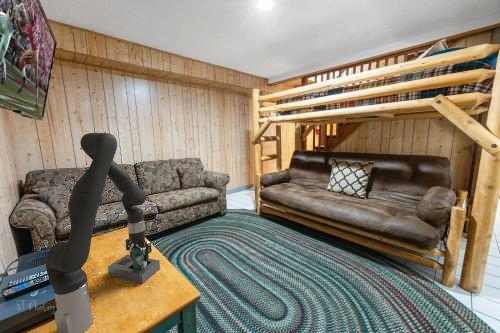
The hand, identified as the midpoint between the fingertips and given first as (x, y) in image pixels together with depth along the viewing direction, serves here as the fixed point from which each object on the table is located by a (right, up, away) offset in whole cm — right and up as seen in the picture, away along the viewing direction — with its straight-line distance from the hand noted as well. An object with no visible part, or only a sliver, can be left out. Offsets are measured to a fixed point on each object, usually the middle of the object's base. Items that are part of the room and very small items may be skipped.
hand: (139, 259), depth 108 cm
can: (0, -8, +1) cm, 8 cm away
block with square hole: (-4, -8, +2) cm, 9 cm away
